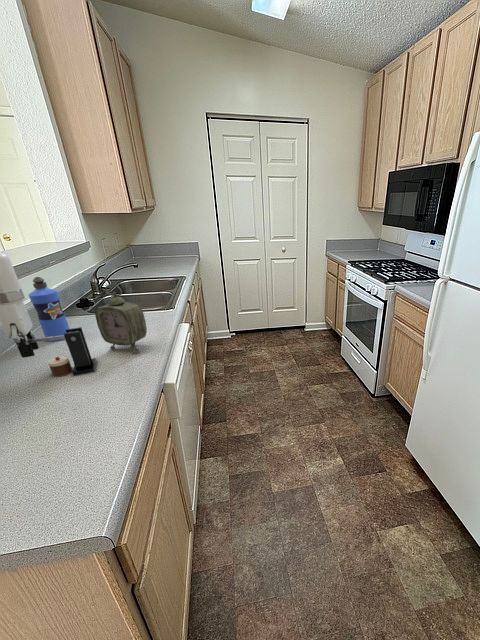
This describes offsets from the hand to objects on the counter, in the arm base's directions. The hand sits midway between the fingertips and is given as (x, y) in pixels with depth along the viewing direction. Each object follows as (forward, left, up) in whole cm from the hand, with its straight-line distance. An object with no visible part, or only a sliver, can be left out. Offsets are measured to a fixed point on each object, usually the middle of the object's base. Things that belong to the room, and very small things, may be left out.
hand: (30, 352), depth 105 cm
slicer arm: (+7, 0, +2) cm, 7 cm away
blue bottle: (0, +38, -9) cm, 39 cm away
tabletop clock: (+27, +11, -9) cm, 30 cm away
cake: (+6, 0, -9) cm, 11 cm away
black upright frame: (+13, 0, -9) cm, 16 cm away
